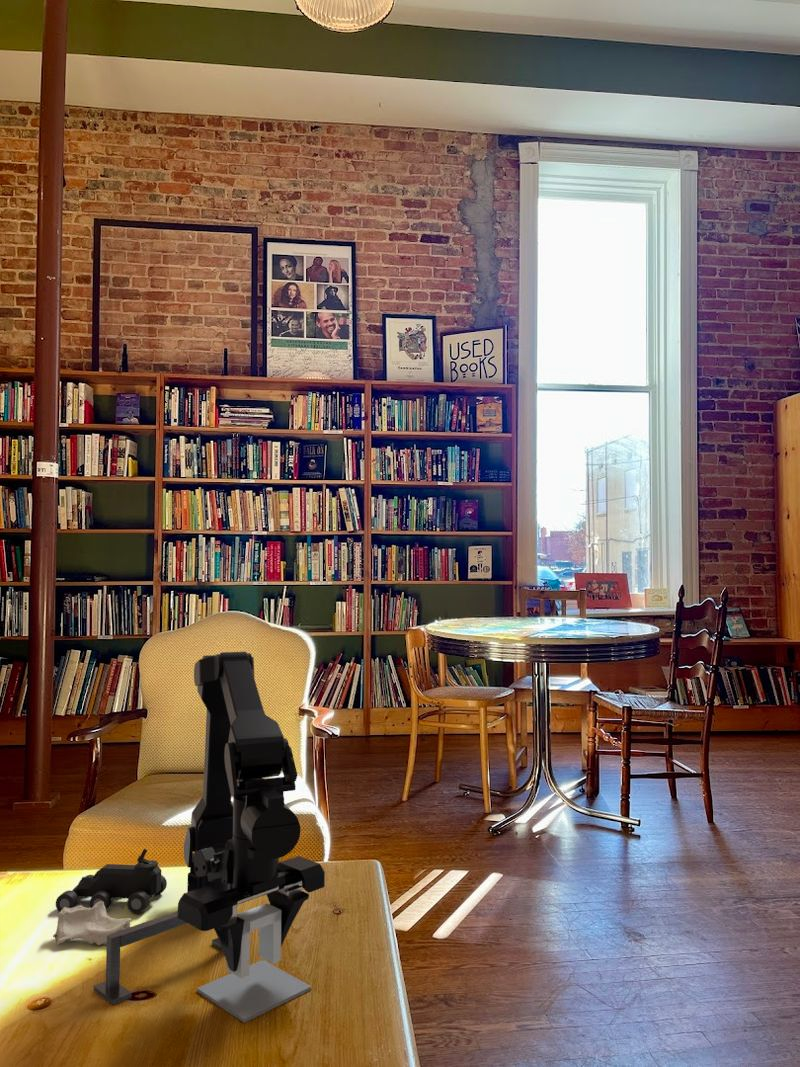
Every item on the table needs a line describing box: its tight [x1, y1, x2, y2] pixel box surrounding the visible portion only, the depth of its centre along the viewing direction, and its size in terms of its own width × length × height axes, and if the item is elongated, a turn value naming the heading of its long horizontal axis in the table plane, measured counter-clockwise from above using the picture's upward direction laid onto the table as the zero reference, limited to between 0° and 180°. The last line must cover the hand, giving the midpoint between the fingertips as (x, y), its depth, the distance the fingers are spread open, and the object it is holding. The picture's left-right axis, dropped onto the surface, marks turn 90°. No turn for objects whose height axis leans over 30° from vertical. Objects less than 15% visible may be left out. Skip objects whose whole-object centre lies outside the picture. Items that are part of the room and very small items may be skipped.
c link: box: [226, 903, 282, 978], centre depth 96 cm, size 3×6×6 cm, turn 137°
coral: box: [52, 901, 132, 946], centre depth 109 cm, size 6×10×4 cm, turn 100°
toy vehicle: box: [55, 848, 168, 915], centre depth 122 cm, size 8×15×9 cm, turn 84°
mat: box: [196, 959, 312, 1024], centre depth 95 cm, size 10×10×1 cm
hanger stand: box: [93, 910, 223, 1006], centre depth 101 cm, size 19×5×7 cm, turn 137°
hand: (254, 961), depth 96 cm, fingers closed on c link, 6 cm apart
